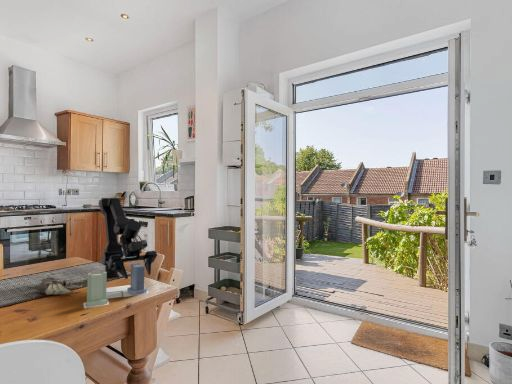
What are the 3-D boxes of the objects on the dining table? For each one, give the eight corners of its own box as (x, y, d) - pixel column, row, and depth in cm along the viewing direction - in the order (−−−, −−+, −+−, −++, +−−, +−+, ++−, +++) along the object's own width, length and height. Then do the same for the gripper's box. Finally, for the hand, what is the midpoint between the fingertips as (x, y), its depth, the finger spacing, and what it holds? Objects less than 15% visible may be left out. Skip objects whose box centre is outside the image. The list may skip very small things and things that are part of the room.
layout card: (81, 292, 120) (81, 290, 120) (141, 284, 132) (141, 283, 132) (83, 309, 102) (84, 308, 102) (152, 298, 114) (152, 297, 114)
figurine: (75, 272, 131) (92, 279, 121) (74, 285, 131) (90, 294, 121) (19, 278, 116) (33, 287, 105) (18, 293, 115) (31, 305, 105)
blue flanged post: (127, 291, 121) (128, 264, 121) (140, 288, 124) (141, 262, 124) (133, 295, 116) (133, 267, 116) (146, 292, 120) (147, 265, 120)
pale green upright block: (87, 306, 103) (88, 275, 104) (86, 303, 107) (87, 272, 107) (106, 303, 107) (107, 273, 107) (105, 300, 110) (106, 270, 110)
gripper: (110, 235, 117) (119, 268, 109) (155, 232, 130) (167, 261, 122) (104, 252, 123) (112, 285, 115) (148, 247, 136) (158, 276, 127)
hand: (138, 276), depth 119 cm, fingers open, 9 cm apart
